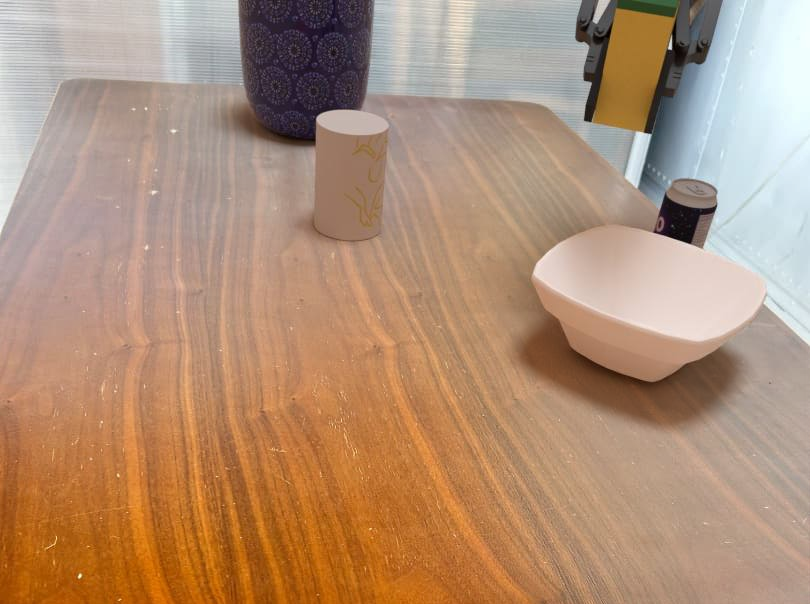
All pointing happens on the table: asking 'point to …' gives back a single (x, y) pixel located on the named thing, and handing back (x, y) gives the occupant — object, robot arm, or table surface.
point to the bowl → (644, 299)
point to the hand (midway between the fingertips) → (619, 119)
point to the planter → (304, 59)
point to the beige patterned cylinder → (349, 174)
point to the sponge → (634, 62)
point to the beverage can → (687, 211)
